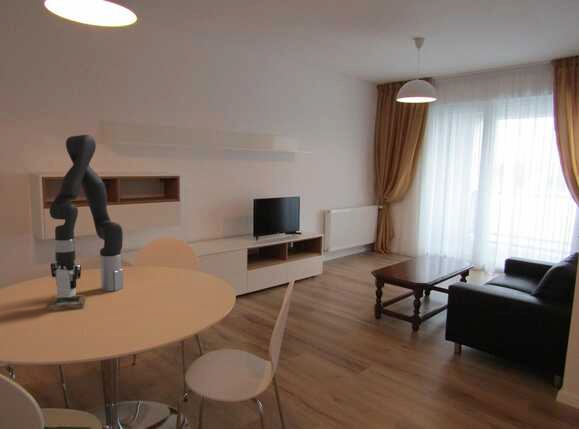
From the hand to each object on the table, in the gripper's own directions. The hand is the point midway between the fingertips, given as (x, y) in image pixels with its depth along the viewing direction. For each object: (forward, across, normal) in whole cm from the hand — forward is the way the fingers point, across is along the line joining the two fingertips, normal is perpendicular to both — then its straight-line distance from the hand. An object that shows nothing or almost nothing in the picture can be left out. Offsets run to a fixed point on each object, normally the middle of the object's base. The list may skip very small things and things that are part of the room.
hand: (66, 287), depth 175 cm
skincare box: (+4, 0, 0) cm, 4 cm away
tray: (+8, 0, 0) cm, 8 cm away
